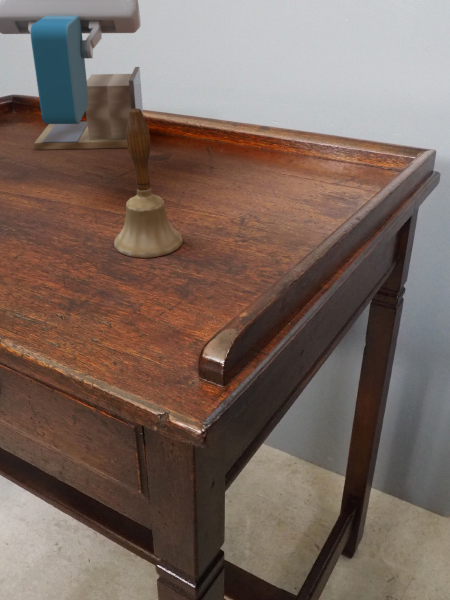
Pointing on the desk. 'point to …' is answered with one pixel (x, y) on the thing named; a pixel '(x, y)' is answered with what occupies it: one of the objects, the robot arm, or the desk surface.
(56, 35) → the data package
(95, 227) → the desk surface
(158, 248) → the hand bell
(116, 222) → the desk surface
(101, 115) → the book rack
